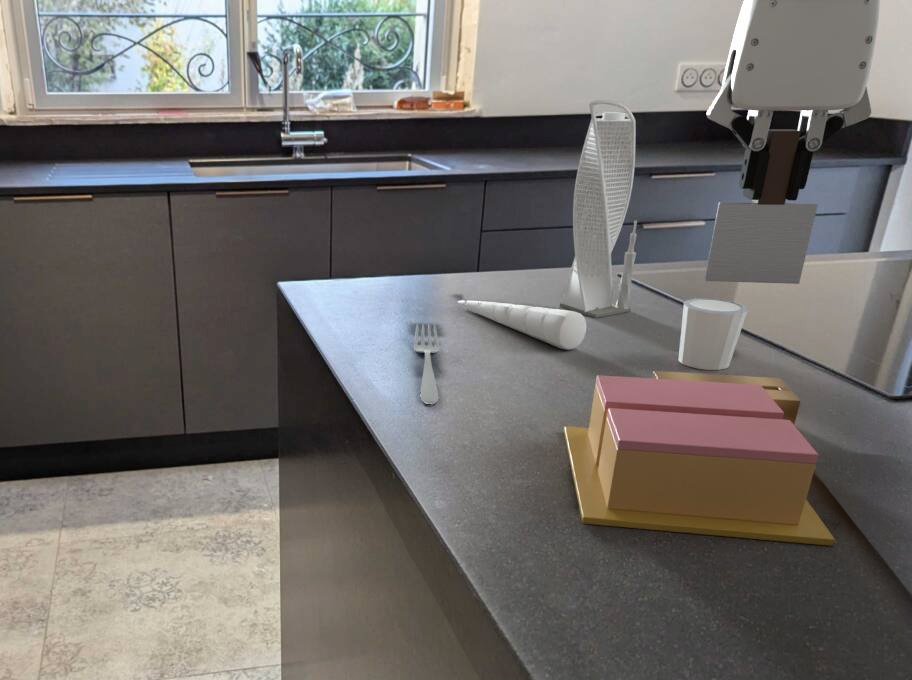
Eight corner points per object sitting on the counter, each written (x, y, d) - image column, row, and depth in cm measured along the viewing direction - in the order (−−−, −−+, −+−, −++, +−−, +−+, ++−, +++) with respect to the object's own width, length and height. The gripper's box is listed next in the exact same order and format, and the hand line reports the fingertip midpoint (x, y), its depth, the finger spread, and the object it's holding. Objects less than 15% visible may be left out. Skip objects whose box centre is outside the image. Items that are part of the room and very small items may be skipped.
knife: (795, 280, 76) (830, 129, 70) (802, 286, 74) (839, 130, 68) (702, 278, 77) (729, 129, 71) (706, 283, 75) (735, 131, 70)
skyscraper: (588, 319, 115) (619, 101, 103) (546, 305, 121) (571, 99, 109) (630, 311, 118) (665, 99, 106) (588, 298, 125) (617, 97, 113)
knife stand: (770, 414, 84) (780, 377, 82) (790, 439, 78) (801, 400, 76) (646, 406, 86) (653, 370, 84) (657, 430, 80) (664, 392, 79)
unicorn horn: (479, 302, 123) (482, 270, 121) (587, 349, 103) (592, 311, 101) (452, 306, 121) (454, 273, 119) (556, 354, 101) (561, 316, 99)
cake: (762, 445, 77) (779, 379, 74) (833, 546, 61) (858, 466, 58) (563, 431, 80) (572, 367, 77) (582, 523, 64) (594, 447, 61)
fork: (414, 405, 86) (415, 389, 86) (413, 336, 108) (413, 323, 107) (445, 406, 86) (446, 390, 85) (437, 336, 108) (438, 323, 107)
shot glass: (666, 364, 98) (677, 307, 94) (680, 349, 103) (690, 294, 100) (729, 375, 94) (742, 316, 91) (740, 359, 99) (753, 302, 96)
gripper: (913, -45, 66) (852, 193, 74) (700, -37, 69) (664, 191, 77) (959, -57, 60) (888, 206, 67) (722, -47, 63) (680, 203, 70)
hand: (769, 196), depth 72 cm, fingers closed on knife, 2 cm apart
